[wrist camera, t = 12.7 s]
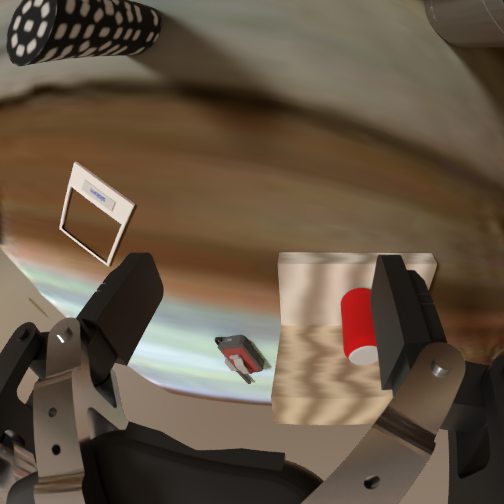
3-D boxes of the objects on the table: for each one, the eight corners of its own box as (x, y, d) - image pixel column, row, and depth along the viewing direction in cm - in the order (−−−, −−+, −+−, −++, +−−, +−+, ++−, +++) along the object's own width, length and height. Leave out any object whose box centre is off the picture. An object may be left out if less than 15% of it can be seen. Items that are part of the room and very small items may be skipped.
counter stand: (431, 253, 40) (469, 336, 26) (397, 348, 55) (408, 419, 40) (279, 252, 46) (264, 342, 31) (284, 349, 60) (274, 422, 46)
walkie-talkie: (208, 334, 62) (247, 379, 71) (203, 350, 59) (244, 392, 68) (242, 329, 59) (277, 376, 68) (237, 345, 55) (275, 390, 65)
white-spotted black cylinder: (171, 13, 26) (70, -12, 10) (144, 62, 31) (36, 74, 15) (129, 0, 25) (25, -15, 9) (105, 46, 29) (-1, 58, 13)
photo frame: (133, 205, 44) (107, 267, 54) (136, 202, 45) (110, 263, 55) (73, 162, 41) (58, 229, 51) (77, 160, 42) (61, 226, 52)
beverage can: (382, 295, 43) (395, 354, 34) (356, 315, 47) (362, 373, 37) (359, 277, 42) (369, 338, 32) (332, 299, 45) (334, 359, 36)
